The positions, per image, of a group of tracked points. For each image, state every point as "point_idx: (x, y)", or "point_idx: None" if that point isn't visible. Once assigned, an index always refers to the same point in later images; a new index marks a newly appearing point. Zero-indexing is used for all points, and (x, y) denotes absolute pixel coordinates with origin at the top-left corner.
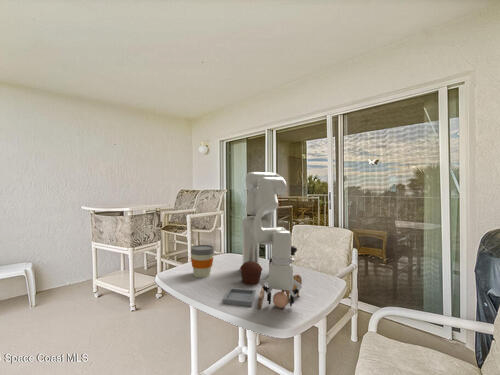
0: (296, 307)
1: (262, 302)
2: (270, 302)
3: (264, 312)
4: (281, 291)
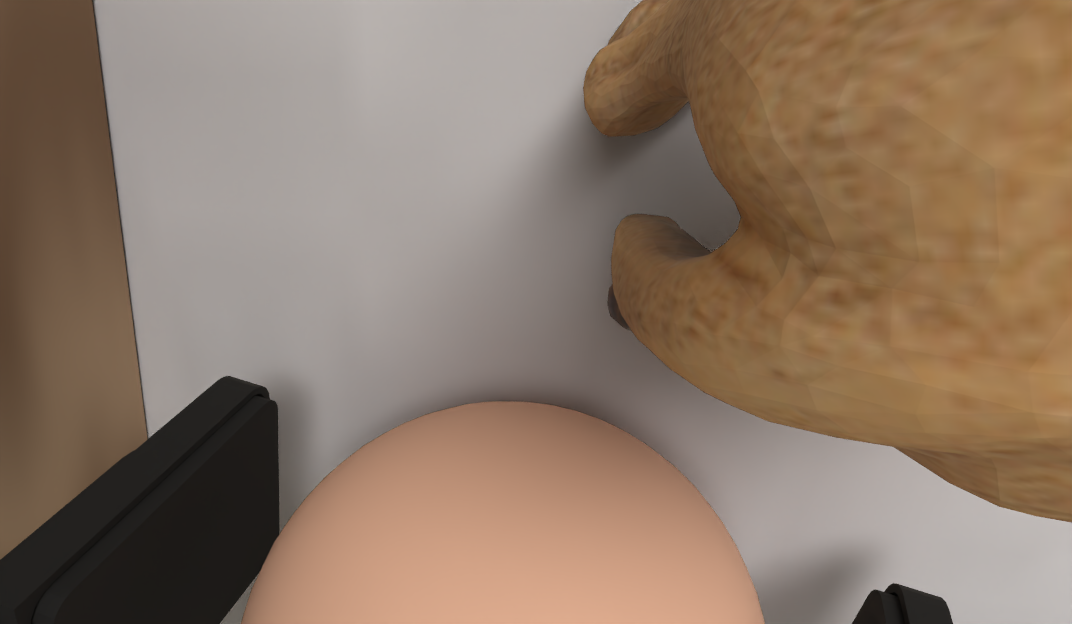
0: (1050, 577)
1: (104, 308)
2: (264, 526)
3: (236, 607)
4: (614, 277)
